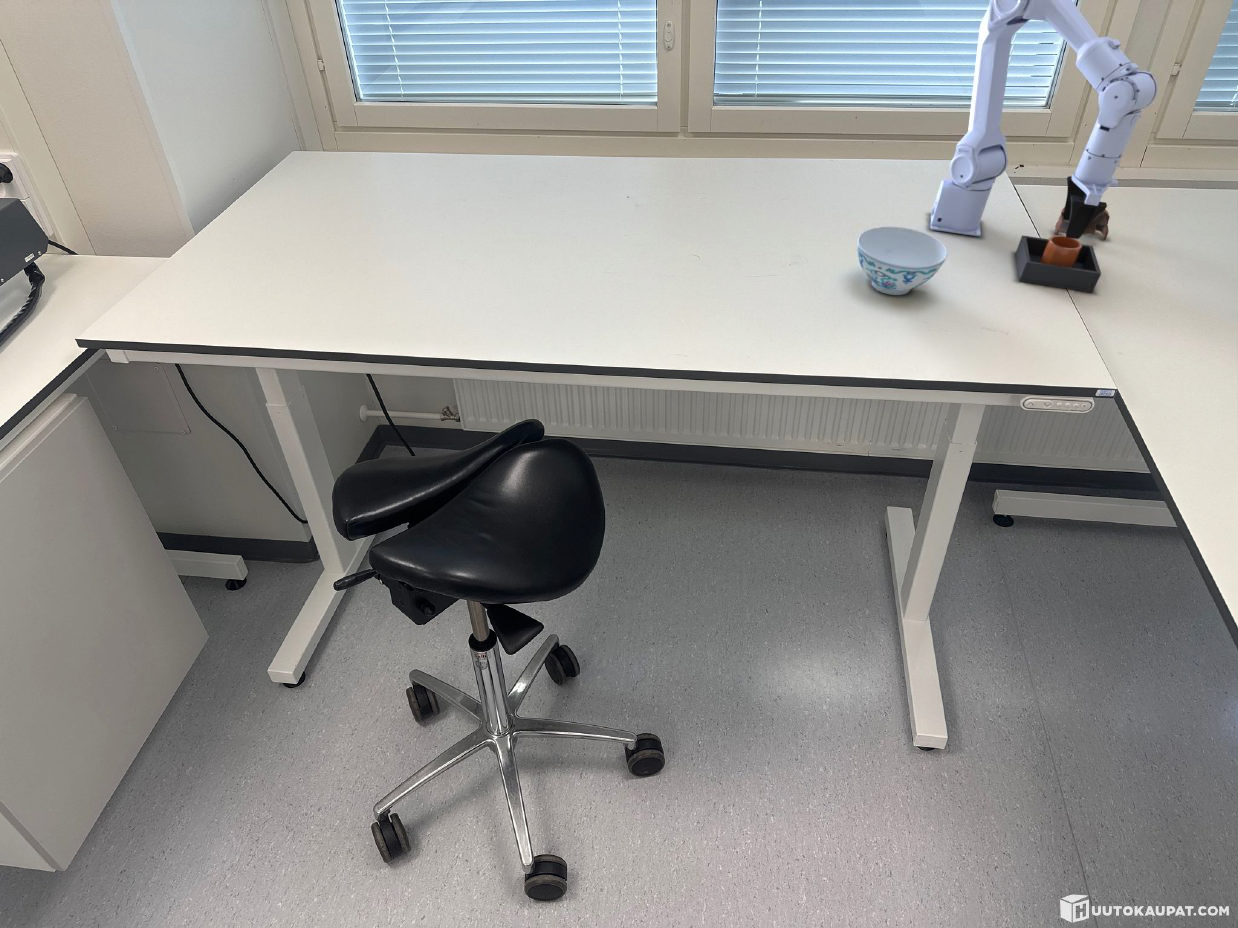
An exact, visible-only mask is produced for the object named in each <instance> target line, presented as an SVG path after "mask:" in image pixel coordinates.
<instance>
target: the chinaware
mask: <svg viewBox="0 0 1238 928" xmlns="http://www.w3.org/2000/svg"><path fill="white" fill-rule="evenodd" d="M856 244H857V245H856V247H857V258H858V262H859V265H860V267H861V269H862V272H863V273H864V274H865V275H866V277H867V278H868V279H869V280H870V281H871V285H872V287H873V288H874V289H875V290H876V291H879V293H883V294H886V295H891V296H902V295H906V294H908V293H909V292H910V291H911V290H912V289H915V288H918V287H920V286H921V285H923V284H925V283H927V282H928V281H930V280H931V279H932V278H933V277H934V276H935V275H936V274H937V273H938V272H939V270H940V269H941V268H942V266H943V264H944V263H945V261H946V259H947V257H948V249H947V246H945V245H944V243H943V242H941V241H940V240H939V239H937V238H936V237H934V236H932V235H930V234H928V233H925V232H923V231H920V230H917V229H912V228H909V227H901V226H877V227H872V228H868V229H867V230H864V231H862V232H861V233H860V234H859V236H858V238H857V243H856Z"/></svg>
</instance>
